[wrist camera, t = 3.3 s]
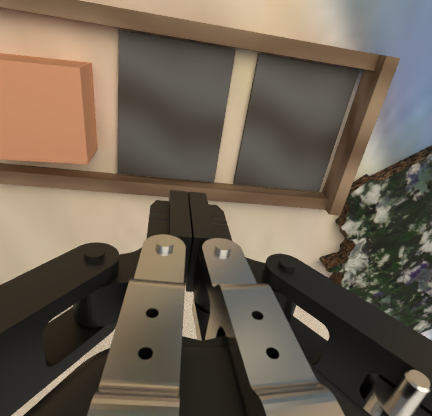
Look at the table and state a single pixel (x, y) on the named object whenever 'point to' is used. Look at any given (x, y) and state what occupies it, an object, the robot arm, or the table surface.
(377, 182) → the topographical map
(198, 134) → the lane
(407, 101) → the table surface
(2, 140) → the block
